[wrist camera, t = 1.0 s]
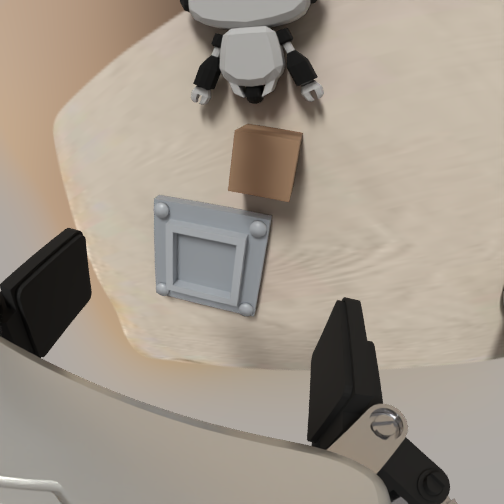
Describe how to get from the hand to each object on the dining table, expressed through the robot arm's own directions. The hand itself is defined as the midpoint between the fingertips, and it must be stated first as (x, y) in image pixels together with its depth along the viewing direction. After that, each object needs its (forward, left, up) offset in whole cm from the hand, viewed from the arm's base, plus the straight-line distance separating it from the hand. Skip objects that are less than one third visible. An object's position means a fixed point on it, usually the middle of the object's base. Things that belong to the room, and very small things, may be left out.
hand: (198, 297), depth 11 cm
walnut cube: (+1, -1, -21) cm, 21 cm away
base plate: (+6, +11, -21) cm, 24 cm away
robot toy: (+4, -13, -21) cm, 25 cm away
